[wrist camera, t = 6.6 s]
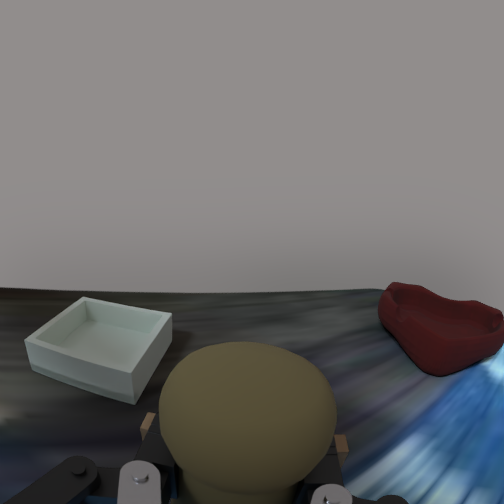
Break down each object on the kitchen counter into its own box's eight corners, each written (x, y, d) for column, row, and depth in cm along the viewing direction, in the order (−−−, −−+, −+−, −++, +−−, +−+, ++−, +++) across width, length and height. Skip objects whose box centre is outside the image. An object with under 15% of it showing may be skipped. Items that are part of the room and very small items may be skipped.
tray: (32, 370, 20) (24, 339, 19) (85, 322, 30) (83, 296, 29) (135, 404, 20) (130, 373, 19) (172, 340, 29) (172, 313, 29)
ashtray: (349, 357, 30) (360, 313, 28) (383, 309, 43) (391, 277, 42) (502, 402, 20) (524, 359, 19) (491, 339, 33) (502, 307, 32)
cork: (236, 473, 15) (260, 306, 12) (314, 536, 10) (401, 376, 8) (144, 515, 11) (107, 340, 8) (218, 599, 6) (239, 502, 4)
